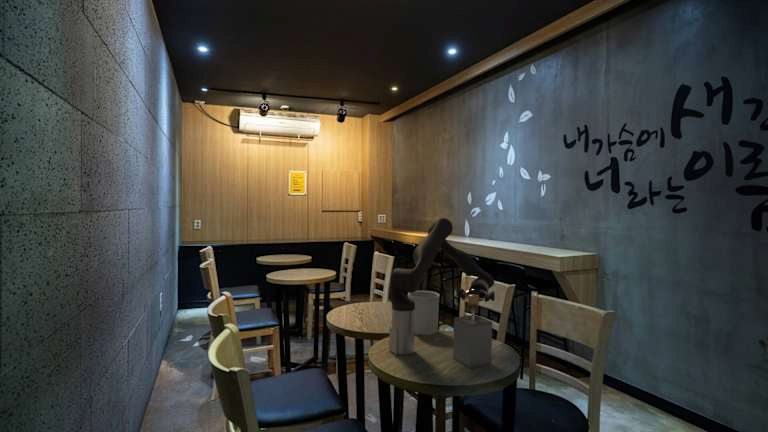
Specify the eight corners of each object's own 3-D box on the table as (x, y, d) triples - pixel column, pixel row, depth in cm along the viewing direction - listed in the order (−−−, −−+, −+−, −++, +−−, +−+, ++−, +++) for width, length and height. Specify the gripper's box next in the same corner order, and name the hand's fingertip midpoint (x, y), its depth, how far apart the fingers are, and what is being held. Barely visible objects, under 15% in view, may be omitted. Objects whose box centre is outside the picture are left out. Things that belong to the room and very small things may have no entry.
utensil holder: (437, 337, 185) (438, 298, 184) (404, 334, 188) (405, 296, 187) (439, 327, 199) (440, 291, 199) (409, 325, 202) (410, 289, 202)
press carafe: (469, 368, 150) (470, 324, 149) (453, 358, 159) (454, 317, 158) (491, 364, 154) (492, 321, 154) (473, 355, 163) (475, 314, 163)
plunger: (470, 361, 151) (472, 298, 151) (457, 354, 158) (459, 293, 158) (486, 358, 155) (488, 296, 154) (473, 351, 162) (475, 292, 161)
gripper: (462, 280, 177) (456, 287, 161) (496, 283, 172) (493, 290, 157) (461, 297, 177) (455, 306, 161) (496, 300, 172) (493, 310, 157)
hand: (474, 298), depth 159 cm, fingers open, 8 cm apart
